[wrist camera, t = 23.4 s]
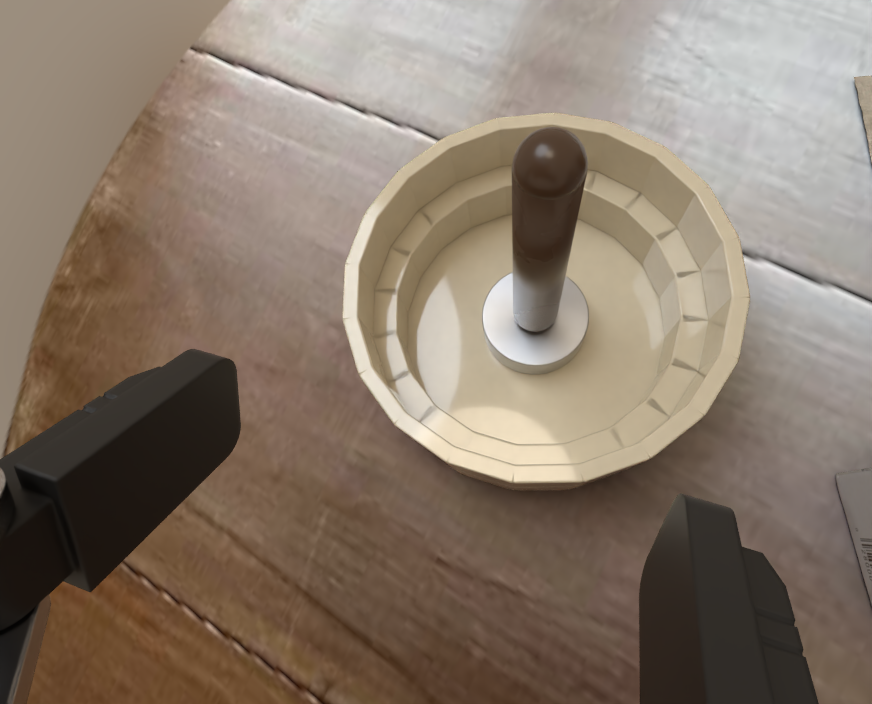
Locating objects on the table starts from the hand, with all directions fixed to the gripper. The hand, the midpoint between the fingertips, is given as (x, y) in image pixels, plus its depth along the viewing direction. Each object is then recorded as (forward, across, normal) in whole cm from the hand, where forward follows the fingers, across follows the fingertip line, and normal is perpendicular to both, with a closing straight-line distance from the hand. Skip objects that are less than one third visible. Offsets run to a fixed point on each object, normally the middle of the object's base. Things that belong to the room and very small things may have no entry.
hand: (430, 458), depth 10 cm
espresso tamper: (+15, 0, +4) cm, 16 cm away
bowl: (+15, 0, +5) cm, 16 cm away
